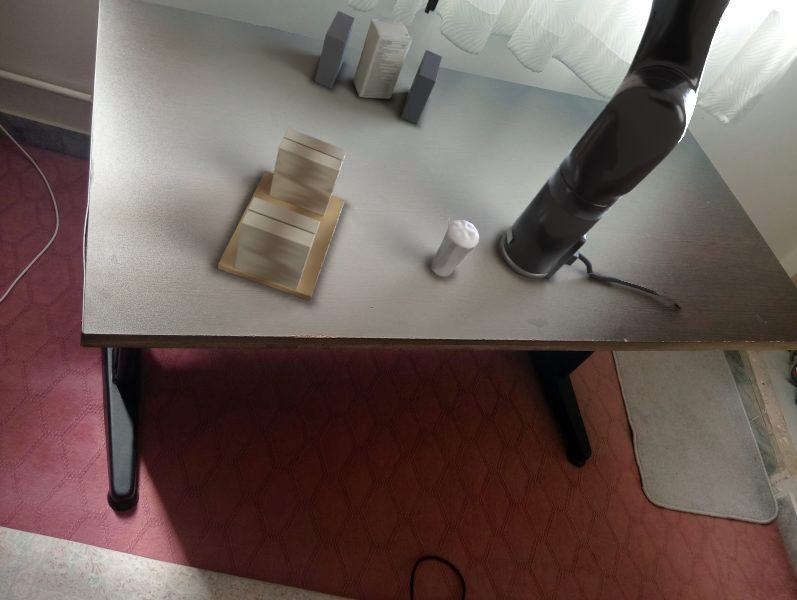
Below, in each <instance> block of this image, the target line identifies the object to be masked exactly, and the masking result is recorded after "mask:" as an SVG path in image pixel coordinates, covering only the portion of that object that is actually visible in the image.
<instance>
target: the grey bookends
mask: <svg viewBox="0 0 797 600" xmlns="http://www.w3.org/2000/svg"><path fill="white" fill-rule="evenodd" d="M355 20H356V18H355V17H354V16H351V15H349V14H347V13H344V12H342V11H339V10H338V11H337V12H336V14H335V16H334V18H333V19H332V21H331V23H330V25H329V28H328V30H327V31H326V33H325V37H324V41H323V45H322V49H321V52H320V53H321V54H320V56H319V57H320V58H319V61H318V66H317V71H316V74H315V79H314V83H316V84H319V85H322V86H324V87H326V88H328V89H333V86H334V83H335V81H336V79H337V78H338V76H339V75H338V74H339V73H340V70H341V68H342V66H343V63H344V59H345V56H346V52H347V49H348V45H349V41H350V38H351V34H352V31H353V27H354V23H355ZM442 59H443V57H442V55H440V54H437V53H435V52H432V51H430V50H428V49H426V50H425V51H424V54H423V56H422V59H421V61H420V64H419V66H418V67H417V71H416V74H415V76H414V78H413V81H412V82H411V83H412V84H411V85H410V88H409V91H408V94H407V96H406V100H405V104H404V106H403V110H402V114H401V116H400V118H401V119H404V120H405V121H408V122H411V123H412V124H415V125H417V124H418V123H419V120H420V119H421V116H422V113H423V112H424V109H425V107H426V105H427V103H428V100H429V99H430V96H431V93H432V91H433V89H434V87H435V84H436V82H437V79H438V75H439V71H440V66H441V63H442Z"/></svg>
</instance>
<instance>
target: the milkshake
mask: <svg viewBox="0 0 797 600" xmlns="http://www.w3.org/2000/svg"><path fill="white" fill-rule="evenodd" d="M447 225H448V227H447V229H446V232H445V234H444V235H443V238H442V241H441V243H440V245H439V247H438V249H437V251H436V252H435V255H434V257H433V258H432V261H431V262H430V268H431V270H432V272H433V273H434V274H436V276H439V277H443V278H445V277H447V276H450V275H451V274H452V273H453V271H454V270H455V269H456V268H457V267H458V266H459V265H460V264H461V262H462V261H464V259H465V258H466V257H467V256H469V254H470V253H471V251H473V249H474V248H475V247H476V246H477V245H478V244H479V241H480V235H479V231H478V229H477V228H476V227H475V225H474V224H473V223H471V222H469V221H468V220H465V219H457V220H454V221H452V222H451V223H450V218H448V219H447Z"/></svg>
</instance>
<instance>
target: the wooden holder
mask: <svg viewBox="0 0 797 600" xmlns="http://www.w3.org/2000/svg"><path fill="white" fill-rule="evenodd" d="M347 152H348V150H346V149H344V148H342V147H338V146H336V145H334V144H331V143H328V142H326V141H323V140H321V139H318V138H316V137H313V136H311V135H308V134H306V133H304V132H301V131H298V130H297V129H293V128H291V127H288V128H287V130H286V132H285V134H284V136H283V138H282V140H281V142H280V144H279V146H278V149H277V155H276V160H275V164H274V170H273V172H271V171H269V170H265V171H264V172H263V175H262V176H261V179H260V180H259V182H258V184H257V186H256V187H255V191H254V192H253V194H252V196H251V198H250V200H249V202H248V204H247V206H246V208H245V210H244V212H243V214H242V216H241V218H240V220H239V222H238V224H237V226H236V228H235V230H234V232H233V234H232V236H231V238H230V240H229V242H228V243H227V246H226V248H225V250H224V252H223V254H222V255H221V258H220V260H219V262H218V263H217V269H218V270H221V271H223V272H226V273H229V274H232V275H235V276H238V277H241V278H243V279H246V280H248V281H249V280H250V281H252V282H255V283H258V284H261V285H264V286H266V287H269V288H271V289H275V290H278V291H281V292H284V293H286V294H289V295H292V296H296V297H298V298H302V299H303V300H307V301H311V299H312V296H313V293H314V289H315V287H316V285H317V283H318V279H319V276H320V274H321V271H322V267H323V265H324V262H325V260H326V256H327V253H328V250H329V247H330V245H331V242H332V239H333V236H334V233H335V231H336V227H337V225H338V222H339V219H340V216H341V213H342V210H343V208H344V205H345V201H346V200H344V199H341V198H339V197H336V196H333V193H334V191H335V187H336V185H337V182H338V179H339V176H340V172H341V170H342V166H343V164H344V161H345V157H346V154H347Z"/></svg>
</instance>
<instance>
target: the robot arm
mask: <svg viewBox="0 0 797 600" xmlns="http://www.w3.org/2000/svg"><path fill="white" fill-rule="evenodd" d="M439 1H440V0H428V1H427V3H426V5H425V9H424V13H426V14H427V15H429V14H430V11H431V12H434V11H435V10H436V8H437V6H438V3H439ZM732 2H733V0H652V3H651V7H650V11H649V15H648V18H647V19H648V20H647V22H646V24H645V25H646V26H645V28H644V31H643V34H642V36H641V39H640V41H639V43H638V46H637V49H636V51H635V53H634V56H633V58H632V61H631V63H630V66H629V67H628V69H627V72H626V75H625V76H624V78H623V79H622V81H621V82H620V83H619V86H618V87H617V88H616V91H615V92H614V93H613V95H612V96H611V98H610V100H609V101H607V103H606V105H605V106H604V107H603V109H602V110H600V112H599V114H598V115H597V116H596V117H595V119H594V120H593V121H592V123H591V124H590V125H589V127H588V128H587V129H586V131H585V132H584V133H583V134H582V135H581V137H580V138H579V140H578V141H577V142H576V143H575V144H574V145H573V146H572V147H571V148H570V150H568V153H567V154H566V155H565V156H564V158H563V159H562V161H561V162H560V163H559V164H558V166H557V167H556V168H555V169H554V171H553V172H552V173H551V174H550V176H549V177H548V178H547V180H546V181H545V182H544V184H543V185H542V186H541V188H540V189H539V190H538V191H537V193H536V194H535V196H534V197H533V198H532V199H531V201H530V202H529V203H528V204H527V206H526V207H525V208H524V210H522V212H521V213H520V214H519V216H518V217H517V218H516V220H515V221H514V222H513V223H512V225H510V226H509V228H508V229H507V230H506V232H505V233H504V234H503V236H502V237H501V238H500V242H499V251H500V254H501V256H502V259H503V260H504V262H505V263H506V264H507V265H508V266H509V267H510V268H511V269H512V270H513V271H514V272H516V273H517V274H519V275H520V276H523V277H525V278H529V279H536V280H537V279H538V280H539V279H542V278H548V279H552V278H553V277H554V276H555V274H557V272H558V271H559V270H560V269H561V268H563V266H564V265H566V266H569V267H571V266H572V265H573V263H575V262H576V261H577V260H579V261H581V262H582V263H583V264H584V265H585V267H586V273H587V275H588V276H589V277H591V278H593V279H594V280H598V281H602V282H609V283H616V284H620V285H623V286H627V287H629V288H630V287H631V288H633V289H637V290H641V291H643V292H646V293H649V294H652V295H655V296H659V295H658V294H657V293H656V292H655V291H653V290H650V289H647V288H644V287H641V286H638V285H635V284H631V283H628V282H624V281H621V280H619V279H623V280H625V279H624V278H621V277H617V276H609V275H602V274H599V273H597V272H594V270H593V264H592V262H591V261H590V260H589V259H588V258H587V257H586V255H583V254H582V253H581V252H580V251H579V250H580V249H581V248H582V247H583V246H584V245H585V244H586V242H587V234H588V232H590V231H591V229H592V228H594V226H595V225H596V224H597V223H598V222H599V221H600V220H601V219H602V218H603V217H604V216H605V215H606V214H607V213H608V212H609V211H610V210H611V209H612V207H614V205H616V203H617V202H619V200H620V199H621V198H623V197H624V196H626V195H628V194H629V193H631V192H632V191H634V189H636V188H637V186H639V185H640V183H641V182H643V181H644V180H645V179H646V178H647V177H648V176H649V175H650V174H651V173H652V172H653V171H654V170H655V169H656V168H657V167H658V166H659V165H660V164H661V163H662V162H663V161H664V160H665V159H666V158H667V157H668V156H669V155H670V154H671V153H672V151H673V150H674V149H676V147H677V146H678V144H679V143H680V142H681V140H682V139H683V137H684V136H685V133H686V131H687V128H688V125H689V123H690V121H691V117H692V116H693V113H694V109H695V106H696V102H697V98H698V92H699V90H700V89H699V88H700V85H701V81H702V78H703V74H704V72H705V71H704V70H705V67H706V64H707V62H708V61H707V60H708V58H709V54H710V52H711V49H712V45H713V42H714V40H715V37H716V34H717V31H718V29H719V26H720V24H721V22H722V20H723V18H724V16H725V14H726V12H727V10H728V8H729V6H730V5H731V3H732ZM593 272H594V274H589V273H593ZM617 278H619V279H617ZM626 280H627V279H626ZM627 281H630V282H632V281H631V280H627ZM633 282H634V281H633ZM634 283H637V284H639V283H638V282H636V281H635V282H634ZM645 286H646V287H649V288H651V286H648V285H645ZM654 292H655V293H654ZM656 294H657V295H656Z"/></svg>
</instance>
